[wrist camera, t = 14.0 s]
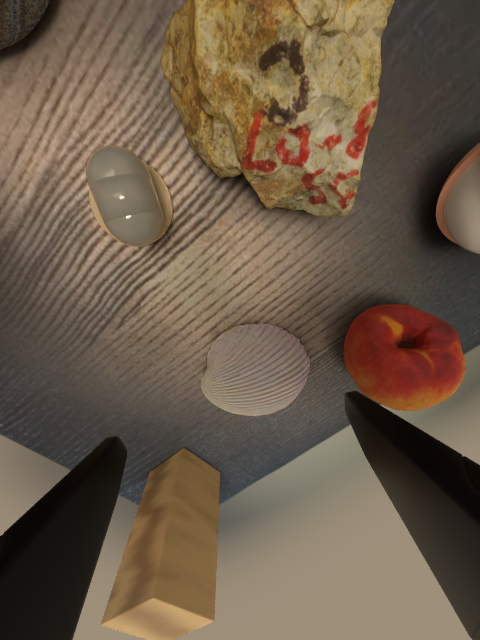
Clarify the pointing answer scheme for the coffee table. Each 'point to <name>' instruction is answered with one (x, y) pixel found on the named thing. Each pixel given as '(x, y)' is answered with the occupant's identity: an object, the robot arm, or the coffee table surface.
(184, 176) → the coffee table surface
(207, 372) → the seashell
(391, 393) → the fruit
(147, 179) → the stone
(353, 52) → the rock
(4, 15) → the vase
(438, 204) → the toy ball
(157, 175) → the coaster
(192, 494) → the stand
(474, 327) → the coffee table surface
